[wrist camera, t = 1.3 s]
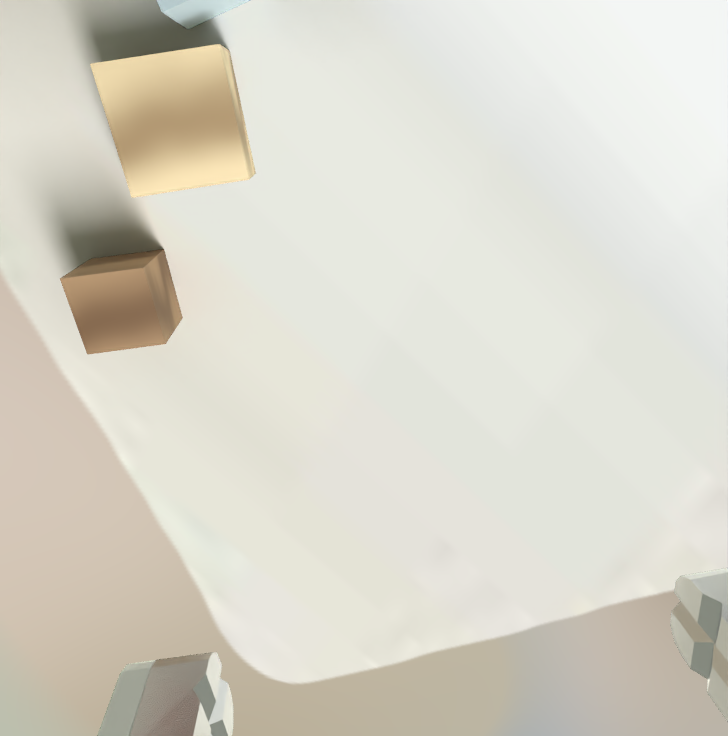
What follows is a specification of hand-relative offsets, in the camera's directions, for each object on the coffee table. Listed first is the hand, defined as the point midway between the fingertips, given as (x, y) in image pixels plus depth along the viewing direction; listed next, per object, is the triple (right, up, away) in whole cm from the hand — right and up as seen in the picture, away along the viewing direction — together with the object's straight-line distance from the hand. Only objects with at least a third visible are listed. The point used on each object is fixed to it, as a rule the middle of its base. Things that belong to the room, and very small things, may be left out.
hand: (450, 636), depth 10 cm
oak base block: (-13, +20, +25) cm, 34 cm away
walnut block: (-17, +10, +29) cm, 35 cm away
